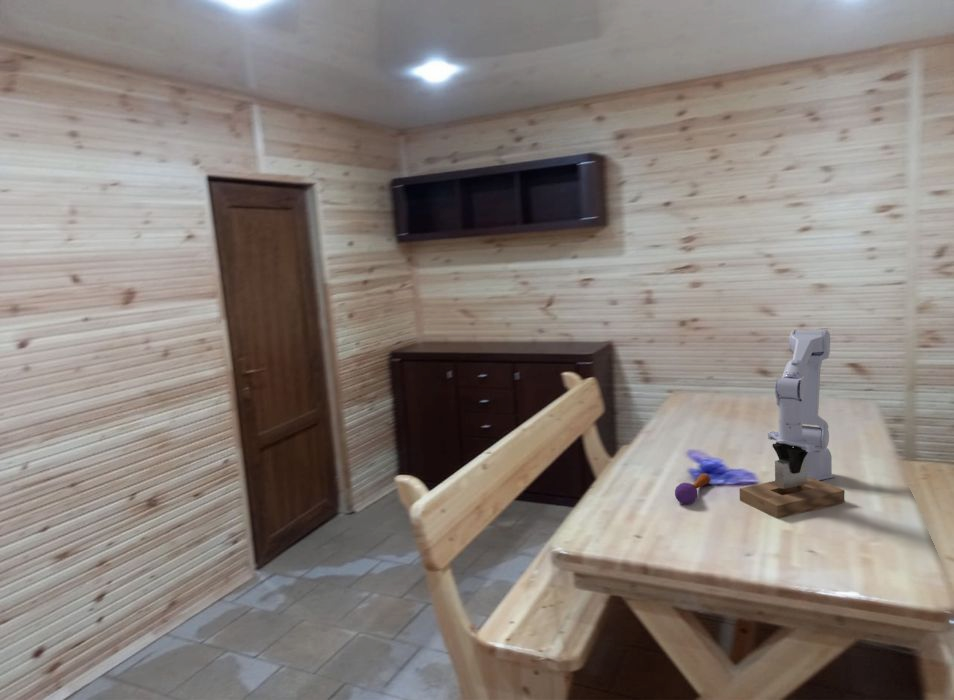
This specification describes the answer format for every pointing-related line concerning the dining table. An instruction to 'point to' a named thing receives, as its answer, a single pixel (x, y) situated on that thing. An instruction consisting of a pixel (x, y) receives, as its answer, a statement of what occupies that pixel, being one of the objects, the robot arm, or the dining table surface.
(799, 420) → the robot arm
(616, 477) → the dining table surface
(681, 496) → the purple and brown maraca
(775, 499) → the well
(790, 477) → the tall grey cuboid
